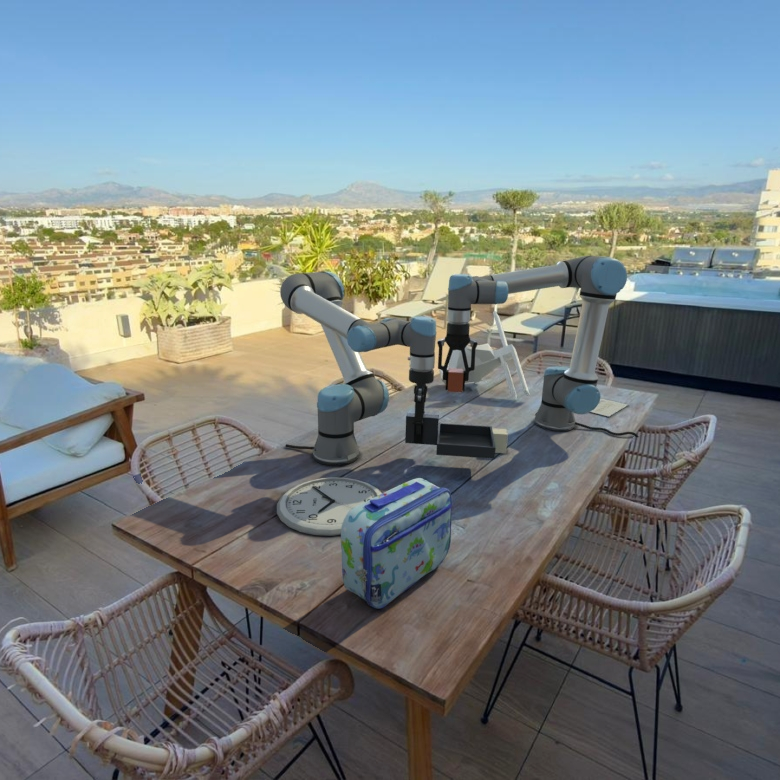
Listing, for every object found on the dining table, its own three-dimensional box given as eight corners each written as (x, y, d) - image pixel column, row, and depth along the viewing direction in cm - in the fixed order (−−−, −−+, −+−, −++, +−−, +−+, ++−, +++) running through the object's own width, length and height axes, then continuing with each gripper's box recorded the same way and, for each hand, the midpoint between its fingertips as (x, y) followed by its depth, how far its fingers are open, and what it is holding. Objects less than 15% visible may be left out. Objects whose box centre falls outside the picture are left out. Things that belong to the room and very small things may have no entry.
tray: (490, 436, 170) (493, 410, 168) (494, 459, 154) (497, 430, 151) (407, 431, 173) (408, 405, 171) (402, 452, 157) (403, 424, 154)
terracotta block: (462, 388, 182) (463, 368, 180) (462, 392, 177) (463, 372, 175) (447, 387, 183) (448, 368, 181) (447, 391, 178) (448, 372, 176)
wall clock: (392, 527, 129) (268, 531, 127) (391, 533, 130) (269, 537, 127) (383, 473, 158) (282, 475, 155) (383, 478, 158) (282, 480, 156)
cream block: (504, 447, 182) (506, 429, 180) (506, 453, 178) (507, 434, 176) (490, 446, 183) (491, 428, 181) (491, 452, 178) (492, 433, 176)
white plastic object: (461, 429, 252) (437, 405, 227) (444, 352, 274) (420, 323, 250) (535, 404, 240) (518, 377, 215) (510, 326, 262) (492, 293, 237)
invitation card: (608, 416, 214) (573, 407, 224) (608, 416, 214) (573, 408, 224) (628, 404, 229) (594, 396, 238) (628, 405, 229) (594, 397, 238)
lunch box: (370, 622, 101) (370, 527, 94) (335, 595, 108) (333, 505, 102) (455, 565, 118) (460, 481, 112) (420, 544, 125) (423, 465, 119)
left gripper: (411, 361, 165) (408, 430, 173) (406, 375, 150) (404, 450, 157) (435, 362, 165) (431, 431, 172) (433, 376, 149) (429, 451, 157)
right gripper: (485, 321, 175) (480, 387, 182) (431, 319, 177) (429, 385, 184) (486, 325, 168) (481, 393, 175) (430, 323, 170) (428, 391, 177)
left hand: (418, 440), depth 165 cm, fingers closed on tray, 3 cm apart
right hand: (455, 389), depth 180 cm, fingers closed on terracotta block, 5 cm apart
